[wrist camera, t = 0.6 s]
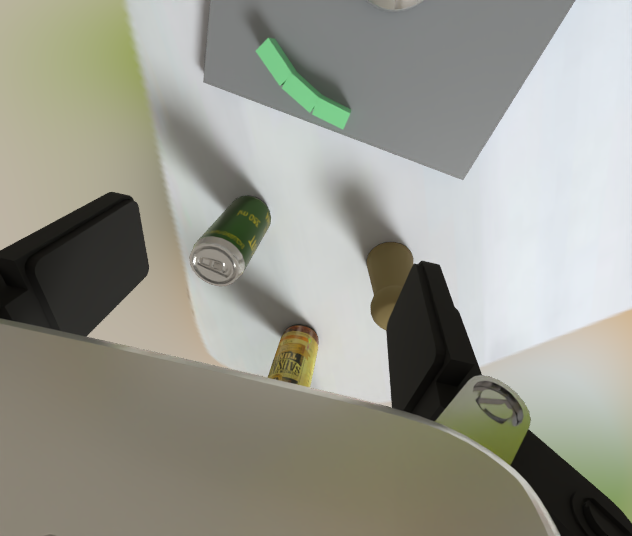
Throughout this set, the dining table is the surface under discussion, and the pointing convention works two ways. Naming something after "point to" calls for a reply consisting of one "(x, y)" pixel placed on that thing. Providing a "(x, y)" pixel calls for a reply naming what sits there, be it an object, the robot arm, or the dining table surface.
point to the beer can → (230, 241)
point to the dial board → (385, 67)
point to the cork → (387, 278)
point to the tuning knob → (394, 4)
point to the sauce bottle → (295, 356)
